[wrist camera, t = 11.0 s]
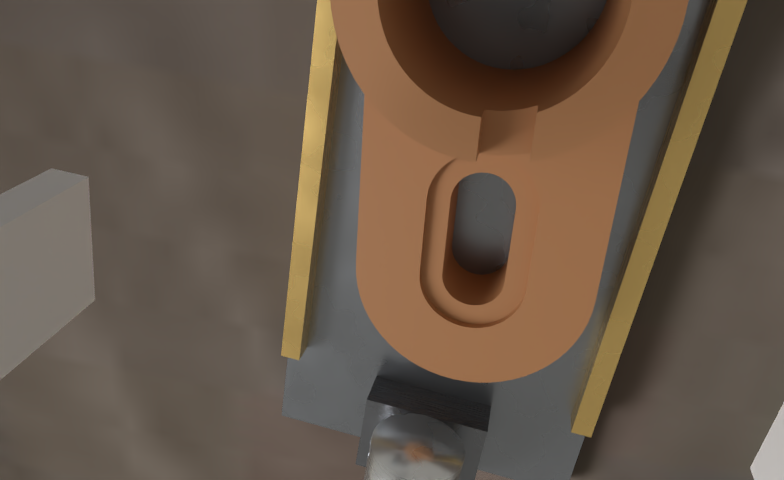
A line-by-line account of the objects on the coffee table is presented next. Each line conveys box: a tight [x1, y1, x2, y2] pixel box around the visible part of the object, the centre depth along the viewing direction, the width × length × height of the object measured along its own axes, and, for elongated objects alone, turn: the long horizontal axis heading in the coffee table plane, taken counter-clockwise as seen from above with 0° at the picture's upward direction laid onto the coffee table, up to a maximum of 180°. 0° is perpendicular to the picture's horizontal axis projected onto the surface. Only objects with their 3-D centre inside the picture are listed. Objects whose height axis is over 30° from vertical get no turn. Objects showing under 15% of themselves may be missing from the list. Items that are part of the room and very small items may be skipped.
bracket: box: [330, 0, 689, 383], centre depth 21 cm, size 18×8×7 cm, turn 176°
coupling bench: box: [281, 0, 747, 480], centre depth 23 cm, size 29×13×6 cm, turn 171°
